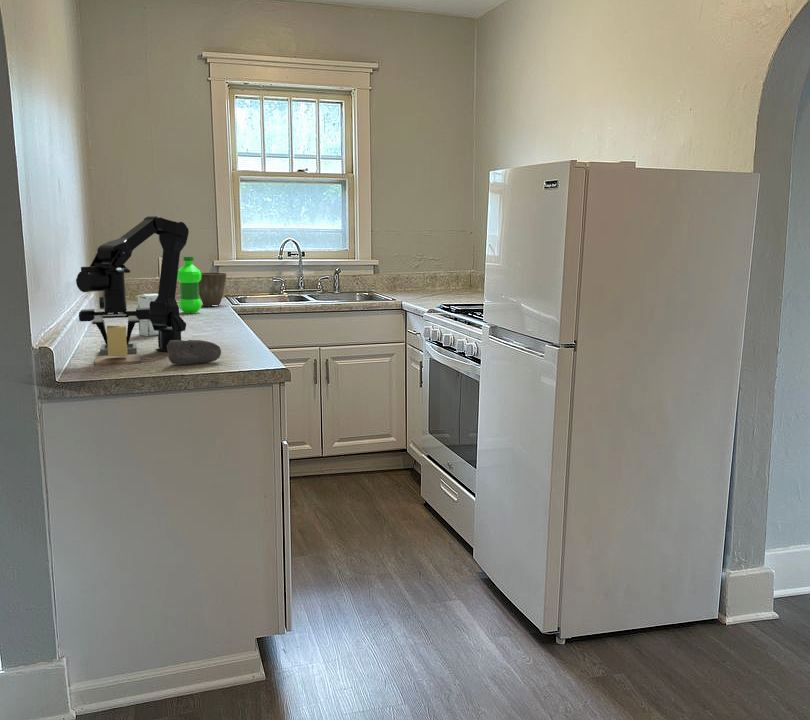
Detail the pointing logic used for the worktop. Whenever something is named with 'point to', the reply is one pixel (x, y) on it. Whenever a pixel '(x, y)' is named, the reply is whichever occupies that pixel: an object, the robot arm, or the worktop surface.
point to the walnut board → (117, 359)
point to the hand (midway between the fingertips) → (117, 344)
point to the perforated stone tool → (192, 351)
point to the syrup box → (146, 325)
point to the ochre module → (117, 340)
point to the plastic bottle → (189, 286)
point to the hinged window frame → (130, 349)
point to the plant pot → (211, 288)
